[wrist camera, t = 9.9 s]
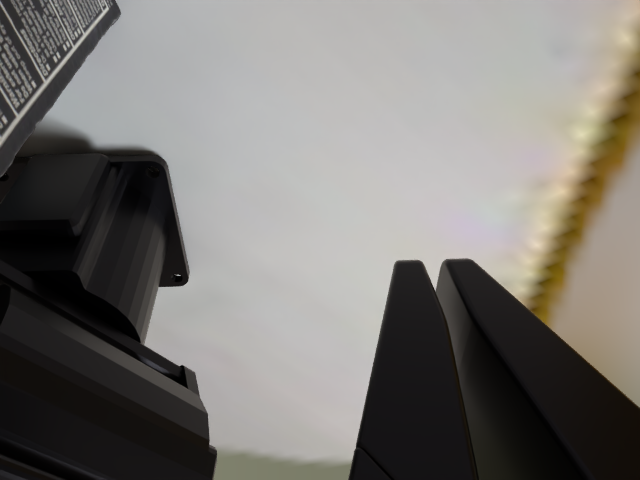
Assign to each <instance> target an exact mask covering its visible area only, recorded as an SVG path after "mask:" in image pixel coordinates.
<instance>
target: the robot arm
mask: <svg viewBox="0 0 640 480" xmlns="http://www.w3.org/2000/svg"><path fill="white" fill-rule="evenodd" d="M151 166H152V167H156V168H157V169H158V170H159V172H152V171H151V170H149V168H148V167H151ZM6 173H7V174H8V176H7V175H2V176H1V177H0V480H213V479H214V474H215V468H216V463H217V450H216V449H215V447H213V446H211V445H209V441H210V440H209V426H208V413H207V411H206V409H205V407H204V405H203V403H202V401H201V399H200V395H199V390H198V385H197V380H196V375H195V372H193V371H192V370H190V369H188V368H187V367H185V366H183V365H181V366H178V365H176V364H174V363H173V362H171V361H169V360H168V359H166V358H164V357H163V356H161V355H159V354H158V353H156V352H154V351H153V350H151V349H149V348H148V347H146V346H144V343H145V339H146V335H147V331H148V327H149V323H150V319H151V315H152V311H153V307H154V303H155V299H156V295H157V291H158V287H173V286H183V285H185V284H186V283H187V282H188V279H189V273H190V271H189V266H188V261H187V257H186V252H185V247H184V242H183V237H182V232H181V227H180V223H179V218H178V213H177V208H176V203H175V198H174V193H173V189H172V184H171V179H170V174H169V169H168V165H167V163H166V161H165V160H164V159H163V158H161V157H159V156H155V155H132V156H105V155H103V154H100V153H96V154H48V155H33V156H32V158H14V160H13V162H12V164H11V165H10V166H9V167H8V169H7V170H6ZM174 274H179V275H181V276H176V275H174ZM348 480H640V407H638V406H637V405H636V404H635V403H634V402H633V401H632V400H630V399H629V398H628V397H627V396H626V395H625V394H624V393H623V392H621V391H620V390H619V389H618V388H617V387H616V386H614V385H613V384H612V383H611V382H610V381H609V380H608V379H607V378H606V377H604V376H603V375H602V374H601V373H600V372H599V371H598V370H596V369H595V368H594V367H593V366H592V365H591V364H590V363H588V362H587V361H586V360H585V359H584V358H583V357H582V356H581V355H580V354H578V353H577V352H576V351H575V350H574V349H573V348H571V347H570V346H569V345H568V344H567V343H566V342H565V341H564V340H563V339H561V338H560V337H559V336H558V335H557V334H556V333H555V332H554V331H552V330H551V329H550V328H549V327H548V326H547V325H546V324H544V323H543V322H542V321H541V320H540V319H539V318H538V317H537V316H535V315H534V314H533V313H532V312H531V311H530V310H529V309H527V308H526V307H525V306H524V305H523V304H522V303H521V302H520V301H518V300H517V299H516V298H515V297H514V296H513V295H512V294H511V293H509V292H508V291H507V290H506V289H505V288H504V287H503V286H501V285H500V284H499V283H498V282H497V281H496V280H495V279H494V278H492V277H491V276H490V275H489V274H488V273H487V272H486V271H484V270H483V269H482V268H481V267H480V266H479V265H478V264H477V263H475V262H474V261H473V260H471V259H467V258H465V259H446V260H445V261H443V263H442V265H441V268H440V273H439V277H438V282H437V287H436V292H435V290H434V287H433V285H432V283H431V280H430V278H429V275H428V273H427V271H426V268H425V266H424V264H423V262H421V261H420V260H399V261H396V262H395V264H394V268H393V273H392V278H391V282H390V287H389V292H388V297H387V301H386V306H385V311H384V315H383V320H382V325H381V330H380V334H379V339H378V344H377V348H376V353H375V358H374V363H373V367H372V372H371V377H370V381H369V386H368V391H367V396H366V400H365V405H364V410H363V414H362V419H361V424H360V429H359V433H358V438H357V443H356V449H355V451H354V455H353V460H352V465H351V470H350V474H349V479H348Z"/></svg>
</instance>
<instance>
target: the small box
mask: <svg viewBox="0 0 640 480" xmlns="http://www.w3.org/2000/svg"><path fill="white" fill-rule="evenodd" d="M120 15H121V12H120V9H119V7H118V5H117V3H116V1H115V0H0V177H1V176H2V175H3V174H4V173H5V172H6V170H7V169H8V167H9V166H10V165H11V164H12V162H13V160H14V158H15V155H16V154H17V152H18V151H19V150H20V148H21V147H22V146H23V144H24V143H25V141H26V140H27V139H28V137H29V136H30V135H31V134H32V133H33V132H34V129H35V126H36V125H37V123H39V122H40V121H41V120H42V119H43V117H44V116H45V114H46V113H47V112H48V111H49V110H50V109H51V108H52V106H53V105H54V103H55V102H56V100H57V99H58V97H59V96H60V94H61V93H62V91H63V90H64V89H65V87H66V86H67V85H68V83H69V82H70V81H71V80H72V78H73V76H74V75H75V73H76V72H77V71H78V69H79V68H80V67H81V65H82V64H83V63H84V61H85V59H86V58H87V56H88V55H89V54H91V52H92V51H93V50H94V48H95V47H96V46H97V44H98V42H99V40H100V39H101V37H102V36H104V35H105V33H106V31H107V30H108V29H109V28H110V26H112V25H113V24H114V23H115V22H116V21H117V20H118V19H119V17H120Z"/></svg>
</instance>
